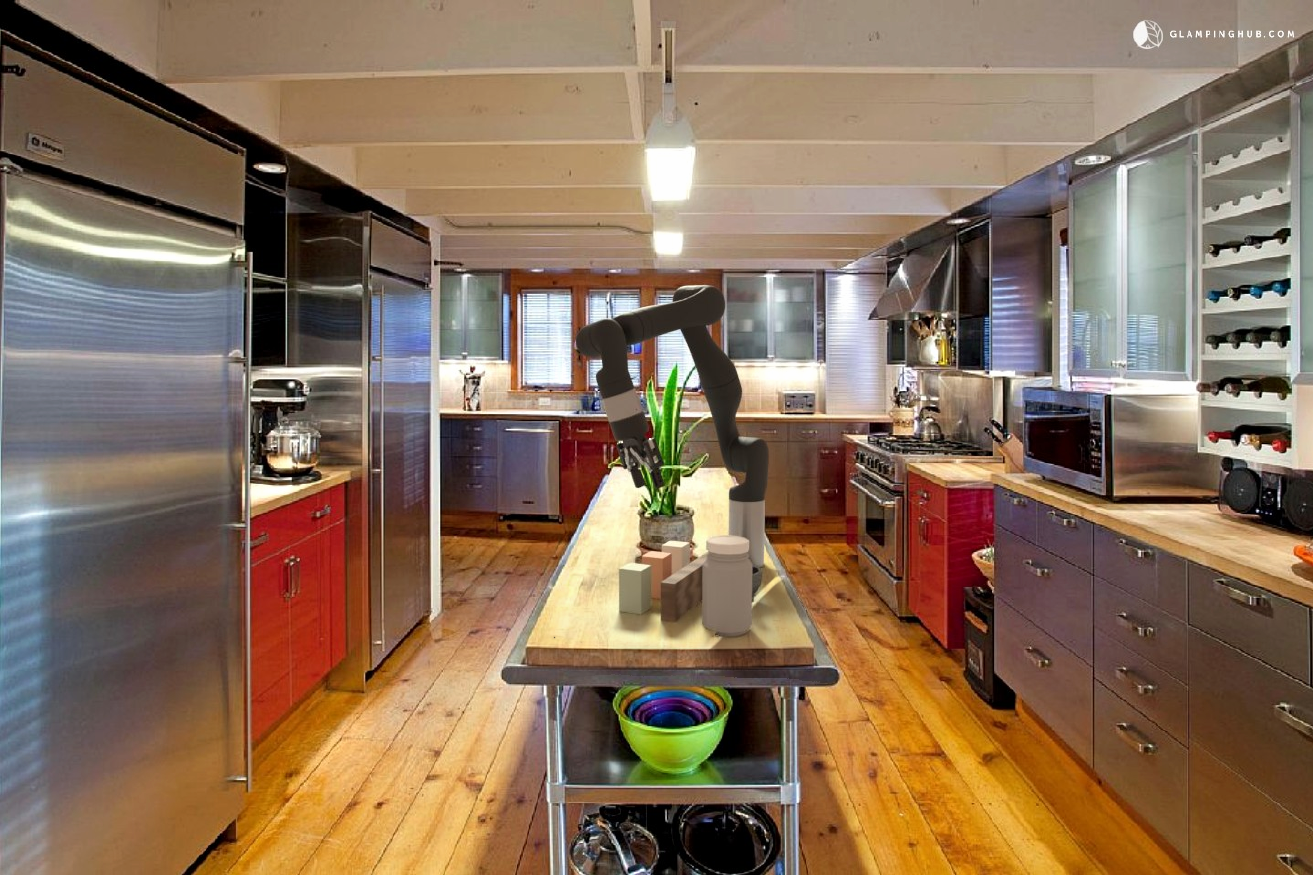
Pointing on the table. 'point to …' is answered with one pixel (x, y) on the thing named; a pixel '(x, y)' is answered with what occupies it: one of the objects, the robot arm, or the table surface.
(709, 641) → the table surface
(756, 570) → the mortar and pestle
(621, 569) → the sage block
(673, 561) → the beige block
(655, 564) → the salmon block
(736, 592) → the jar
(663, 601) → the brown wooden block
